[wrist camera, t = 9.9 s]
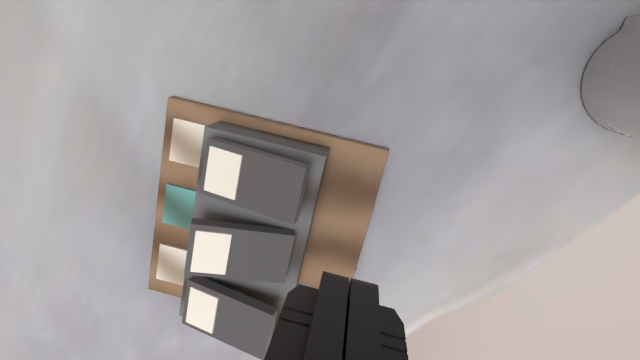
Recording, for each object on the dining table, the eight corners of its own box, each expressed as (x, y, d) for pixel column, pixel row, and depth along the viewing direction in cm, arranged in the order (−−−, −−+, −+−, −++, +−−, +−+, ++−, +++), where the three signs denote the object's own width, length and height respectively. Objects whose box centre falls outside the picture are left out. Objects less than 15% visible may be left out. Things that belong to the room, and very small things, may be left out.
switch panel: (173, 96, 39) (146, 100, 35) (388, 149, 38) (391, 161, 34) (152, 284, 46) (128, 309, 41) (336, 333, 45) (332, 365, 40)
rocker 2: (193, 213, 35) (190, 224, 33) (292, 225, 37) (295, 237, 35) (186, 262, 37) (183, 276, 35) (282, 271, 39) (284, 284, 37)
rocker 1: (219, 135, 35) (205, 138, 33) (313, 163, 33) (305, 168, 31) (211, 187, 37) (197, 193, 35) (301, 217, 35) (292, 225, 33)
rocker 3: (200, 270, 39) (186, 280, 37) (281, 304, 37) (271, 316, 35) (194, 312, 41) (180, 324, 39) (272, 347, 39) (261, 361, 37)
